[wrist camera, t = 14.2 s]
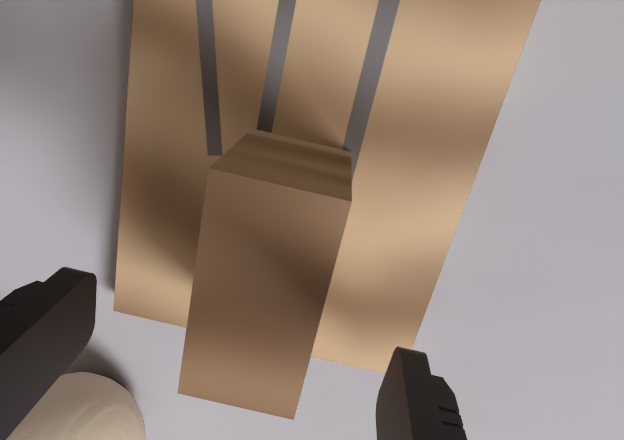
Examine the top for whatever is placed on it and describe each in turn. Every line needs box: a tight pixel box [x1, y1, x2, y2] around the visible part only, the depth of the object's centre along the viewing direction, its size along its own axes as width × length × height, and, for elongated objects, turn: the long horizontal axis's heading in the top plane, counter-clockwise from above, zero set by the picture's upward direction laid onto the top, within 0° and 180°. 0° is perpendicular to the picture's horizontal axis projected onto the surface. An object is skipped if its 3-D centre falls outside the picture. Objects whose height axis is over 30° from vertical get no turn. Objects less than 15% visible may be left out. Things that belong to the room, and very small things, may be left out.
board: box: [113, 0, 541, 374], centre depth 18 cm, size 24×14×1 cm, turn 168°
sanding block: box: [178, 129, 352, 420], centre depth 17 cm, size 8×4×6 cm, turn 168°
